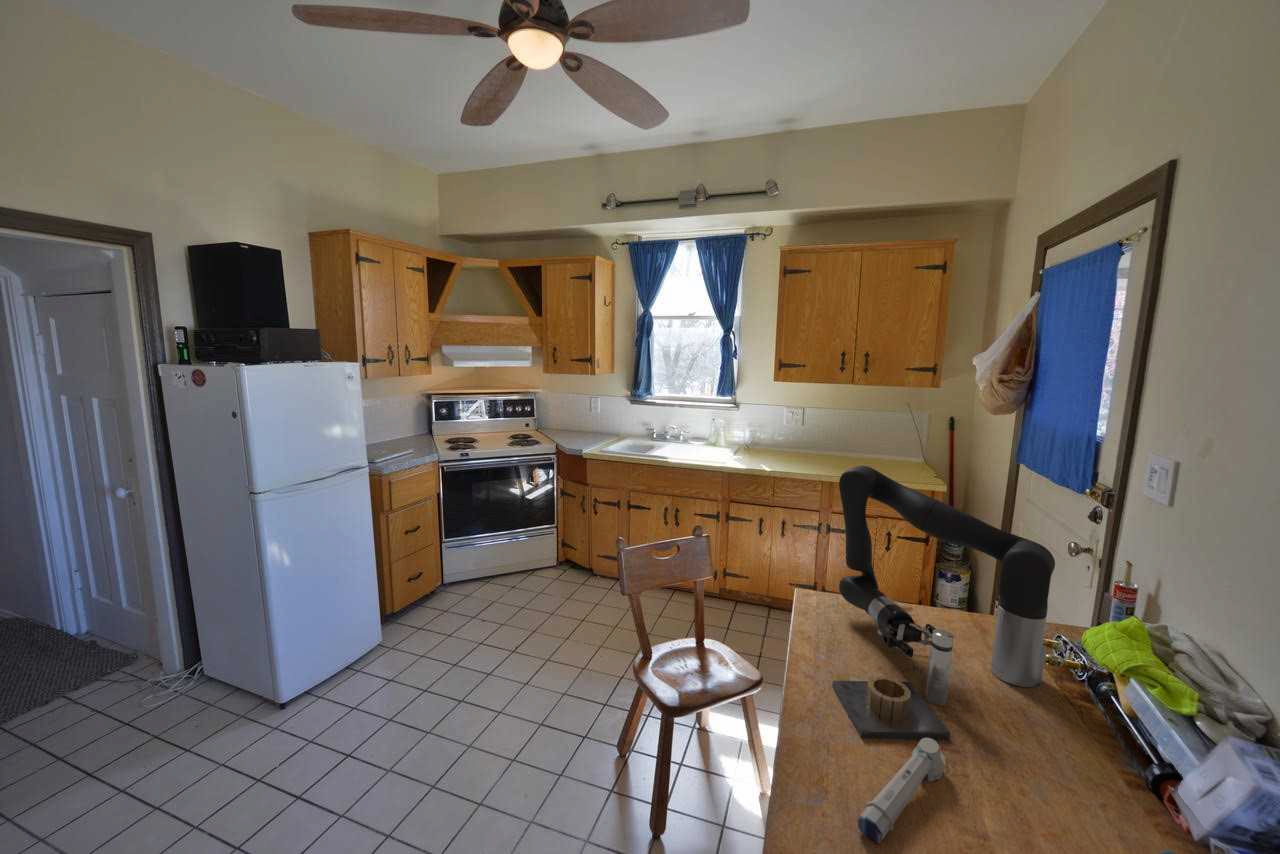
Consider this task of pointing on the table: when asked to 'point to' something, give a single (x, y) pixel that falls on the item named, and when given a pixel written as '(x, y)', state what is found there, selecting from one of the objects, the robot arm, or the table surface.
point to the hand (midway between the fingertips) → (929, 653)
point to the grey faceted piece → (901, 790)
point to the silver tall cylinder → (939, 666)
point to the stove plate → (886, 725)
